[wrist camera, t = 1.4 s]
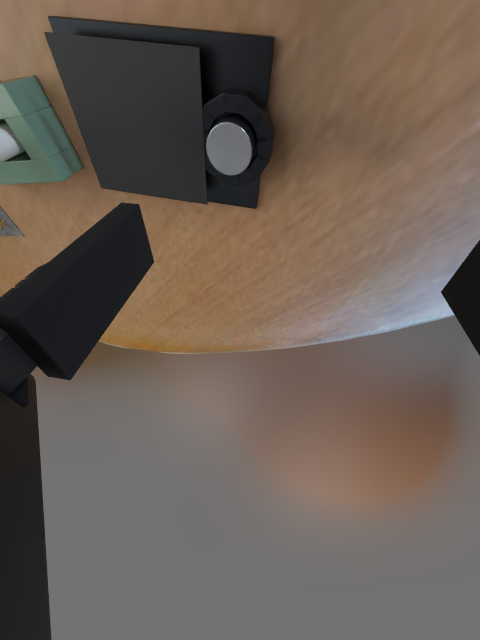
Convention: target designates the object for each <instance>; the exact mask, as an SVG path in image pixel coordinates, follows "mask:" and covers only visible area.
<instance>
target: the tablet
mask: <svg viewBox="0 0 480 640" xmlns="http://www.w3.org/2000/svg"><path fill="white" fill-rule="evenodd" d="M48 18H49V21H50V24H51V27H52V30H53V33H60V34H70V35H80V36H90V37H100V38H110V39H120V40H130V41H141V42H151V43H161V44H171V45H181V46H191V47H199V52H200V71H201V90H202V109H203V128H204V147H205V166H206V185H207V201H209V202H215V203H222V204H228V205H235V206H241V207H248V208H254V209H256V208H257V203H258V194H259V184H260V175H261V173H262V171H263V170H264V169H265V167H266V166H267V164H268V163H269V161H270V158H271V155H272V150H273V142H274V134H275V130H274V127H273V124H272V121H271V118H270V115H269V112H268V109H267V108H268V99H269V89H270V80H271V70H272V61H273V51H274V42H275V37H274V36H265V35H254V34H243V33H232V32H221V31H211V30H200V29H189V28H178V27H167V26H157V25H146V24H135V23H124V22H114V21H103V20H92V19H81V18H70V17H60V16H48ZM227 116H236V117H239V118H241V119H243V120H244V121H245V122H246V123H247V124H248V125H249V126H250V128H251V129H252V131H253V134H254V138H255V151H254V154H253V157H252V159H251V161H250V163H249V165H248V167H247V168H246V169H245V170H244V171H243V172H242V173H240V174H237V175H232V176H231V175H225V174H223V173H221V172H219V171H218V170H217V169H215V168H214V166H213V165H212V164H211V162H210V160H209V158H208V155H207V149H206V143H207V138H208V135H209V133H210V131H211V130H212V128H213V127H214V126H215V125H216V124H217V123H218V122H219V121H220V120H221V119H223V118H225V117H227Z"/></svg>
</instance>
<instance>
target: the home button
mask: <svg viewBox="0 0 480 640" xmlns="http://www.w3.org/2000/svg"><path fill="white" fill-rule="evenodd" d="M206 149H207V155H208V158H209V160H210V162H211V164H212V165H213V166H214V168H215V169H217V170H218V171H219V172H221V173H223V174H225V175H231V176H232V175H237V174H240V173H242V172H243V171H244V170H245V169H246V168H247V167H248V165H249V163H250V161H251V159H252V157H253V154H254V151H255V138H254V134H253V131H252V129H251V128H250V126H249V125H248V124H247V123H246V122H245V121H244V120H243V119H241V118H239V117H236V116H227V117H225V118H223V119H221V120H220V121H219V122H218V123H217V124H216V125H215V126H214V127H213V128H212V130H211V131H210V133H209V135H208V138H207V143H206Z"/></svg>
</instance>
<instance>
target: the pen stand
mask: <svg viewBox="0 0 480 640" xmlns="http://www.w3.org/2000/svg"><path fill="white" fill-rule="evenodd" d="M4 123H7V124H8V125H9V127H10V128H11V130H12V131H13V133H14V134H15V136H16V137H17V139H18V140H19V142H20V143H21V145H22V146H23V148H24V149H25V151H24V152H22V153H20V154H18V155H16V156H14V157H12V158H10V159H8V160H6V161H4V162H2V163H0V185H6V184H25V183H45V182H63V181H64V180H66V179H67V178H69V177H70V176H72V175H73V174H74V173H76V172H77V171H79V170H80V169H82V168H83V167H84V166H83V164H82V162H81V160H80V158H79V156H78V155H77V153H76V151H75V149H74V147H73V145H72V143H71V141H70V140H69V138H68V136H67V134H66V132H65V130H64V128H63V126H62V125H61V123H60V121H59V119H58V117H57V115H56V113H55V111H54V110H53V108H52V106H51V104H50V102H49V100H48V98H47V96H46V95H45V93H44V91H43V89H42V87H41V85H40V83H39V81H38V80H37V78H36V76H30V77H24V78H18V79H12V80H6V81H0V125H1V124H4Z"/></svg>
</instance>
